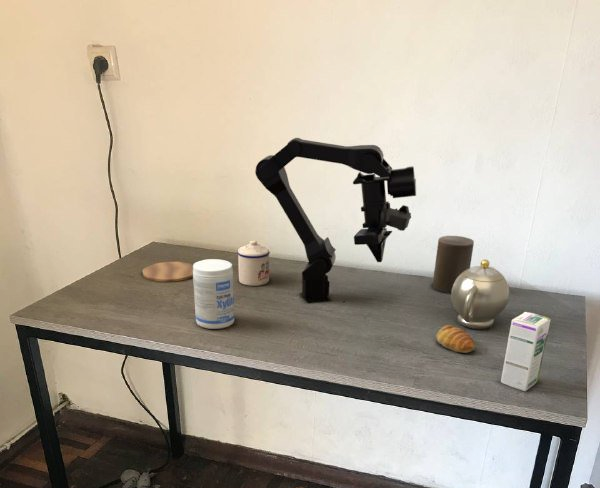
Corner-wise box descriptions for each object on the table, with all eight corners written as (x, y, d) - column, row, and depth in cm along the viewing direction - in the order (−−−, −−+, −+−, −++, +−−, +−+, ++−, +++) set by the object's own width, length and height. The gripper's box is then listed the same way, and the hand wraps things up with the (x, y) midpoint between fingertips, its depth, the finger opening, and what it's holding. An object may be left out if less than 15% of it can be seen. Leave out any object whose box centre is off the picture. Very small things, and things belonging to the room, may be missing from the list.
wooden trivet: (145, 284, 179) (145, 281, 179) (140, 266, 193) (140, 263, 192) (201, 279, 184) (201, 276, 183) (193, 262, 197) (193, 259, 196)
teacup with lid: (263, 288, 178) (263, 247, 172) (233, 284, 180) (232, 243, 175) (277, 274, 188) (277, 235, 182) (248, 271, 190) (247, 232, 185)
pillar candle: (445, 295, 176) (452, 241, 168) (425, 284, 184) (432, 232, 176) (474, 291, 179) (482, 238, 172) (453, 280, 187) (461, 229, 180)
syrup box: (525, 392, 129) (540, 326, 122) (498, 382, 132) (511, 318, 125) (537, 382, 133) (552, 318, 125) (511, 373, 136) (524, 310, 129)
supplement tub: (225, 332, 152) (222, 273, 144) (189, 327, 154) (184, 268, 147) (240, 318, 160) (239, 260, 152) (206, 313, 162) (202, 256, 155)
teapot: (458, 308, 168) (467, 247, 160) (510, 319, 162) (522, 256, 154) (434, 331, 154) (442, 266, 146) (489, 344, 149) (501, 277, 140)
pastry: (481, 350, 146) (484, 335, 144) (459, 357, 142) (462, 342, 141) (453, 336, 152) (455, 321, 150) (431, 342, 149) (433, 327, 147)
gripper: (395, 208, 146) (400, 273, 154) (416, 189, 161) (419, 250, 168) (350, 210, 151) (356, 273, 158) (373, 192, 166) (379, 251, 173)
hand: (379, 261), depth 164 cm, fingers closed
